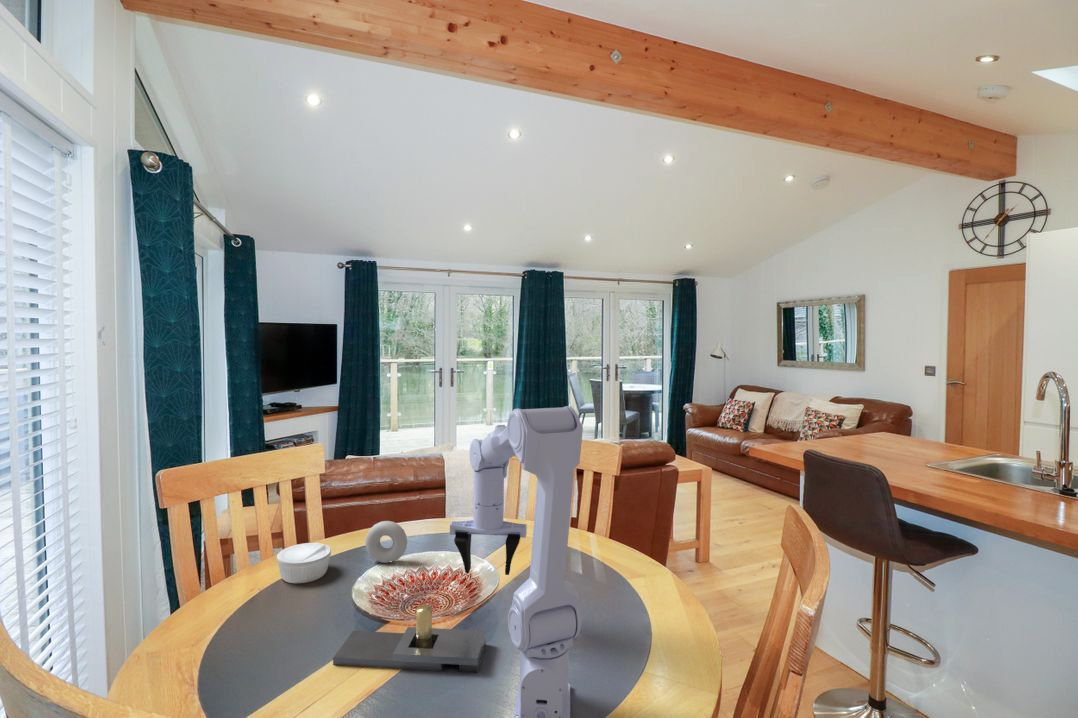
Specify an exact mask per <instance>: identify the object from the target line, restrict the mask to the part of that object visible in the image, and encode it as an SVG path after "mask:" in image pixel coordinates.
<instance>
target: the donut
mask: <svg viewBox="0 0 1078 718" xmlns="http://www.w3.org/2000/svg"><path fill="white" fill-rule="evenodd" d="M384 536H387V537H389V538H390V539H391V541H392V545H391V546H390V547H388V548H387V547H384V546H383V545H382V544H381V538H382V537H384ZM365 547H366V549H365V550H366V551H367V552H368V554H369V556H370V557H371V558H372V559H373V560H375V561H377V562H378V563H382V564H387V563H386V562H390V561H394V562H396V561H398V560H399V559H400V558H401V557H403V556H404V554H405V552H406V550H407V547H408V537H407V534H406V532H405V530H404V529H403V527H402V526H401V525H399V524H398V523H396V522H395V521H391V520H383V521H380V522H377V523H375V524H374V525H372V527H370V529H369V530H368V532H367V534H366V537H365ZM395 560H396V561H395Z"/></svg>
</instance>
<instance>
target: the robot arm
mask: <svg viewBox="0 0 1078 718" xmlns="http://www.w3.org/2000/svg"><path fill="white" fill-rule="evenodd" d="M506 424H507V425H505V424H497V425H495V427H494V430H493V431H491V432H490V433H488V434H487V435H486V437H485V438H484V439H477V438H473V439H472V441H471V443H470V446H469V461H470V466H471V469H472V470H473V520H472V519H469V520H459V521H455V520H452V521H451V522H450V524H449V535H452V536H455V537H454V540H453V541H454V544H455V547H456V548H457V550H458V552H459V554H460V557H461V560H462V562H463V563H462V564H463V568H464V573H465V574H469V573H470V571H471V569H472V559H471V558H472V555H471V554H472V553H471V546H472V535H481V536H482V535H485V536H506V540H505V569H504V575H506V576H509V575H510V572H511V565H512V560H513V558H514V555H515V552H516V551H517V548H518V546H519V544H520V541H521V538H522V539H523V538H527V528H528V527H527V526H528V525H527V523H518V522H511V521H505V520H504V514H505V513H504V508H505V507H504V500H505V499H504V498H505V497H504V496H505V478H507V475H508V467H509V464H510V459H512V458H513V457H516V458H517V460H518V461H519V463H520V465H521V468H522V469H523V471H526V472H528V473H530V474H532V475H535V477H536V479H537V480H536V481H537V482H536V491H535V504H534V505H535V507H534V516H533V517H534V518H533V527H532V528H533V529H532V543H531V544H532V545H531V556H530V557H531V558H530V568H529V578H528V579H526V580H525V581H524V583H522V584H521V585H520V586H519V587H518V588H517V589H516V590H515V591H514V593H513V595H512V596H513V597H512V603H511V606H510V609H509V610H508V615H507V624H508V625H507V626H508V627H507V628H508V632H509V636H510V640H511V641H512V644H513V645H514V647H515V648H517V650H518V651H519V681H518V684H517V685H518V686H517V693H516V698H515V699H516V700H515V705H514V706H515V707H514V712H513V718H516V716H519V717H518V718H571V683H569V648H570V647H573V646H574V638H575V639H576V638H577V637H578V636H579V635H580V632H581V629H582V623H583V622H582V621H583V619H582V614H581V613H582V612H581V607H580V606H581V605H580V601H581V597H580V596H579V595H580V594H579V593H578V591H577V590H576V588H575V587H574V586H573V584H572V583H570V582H569V581H567V580H566V578H565V577H566V569H567V568H566V566H567V556H568V544H569V534H570V532H569V531H570V522H571V512H572V502H573V501H572V498H573V490H574V489H573V488H574V477H575V476H574V475H575V469H576V468H577V467H578V466H579V465H580V462H581V454H582V453H581V452H582V444H583V443H582V442H583V431H584V430H583V425H582V423H581V420H580V417H579V415H578V413H577V411H576V410H575V409H574V407H572V406H568V405H567V406H562V407H543V408H541V407H540V408H525V409H524V408H523V409H522V408H514V409H512V411H511V412H509V414H508V419H507V423H506Z"/></svg>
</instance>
